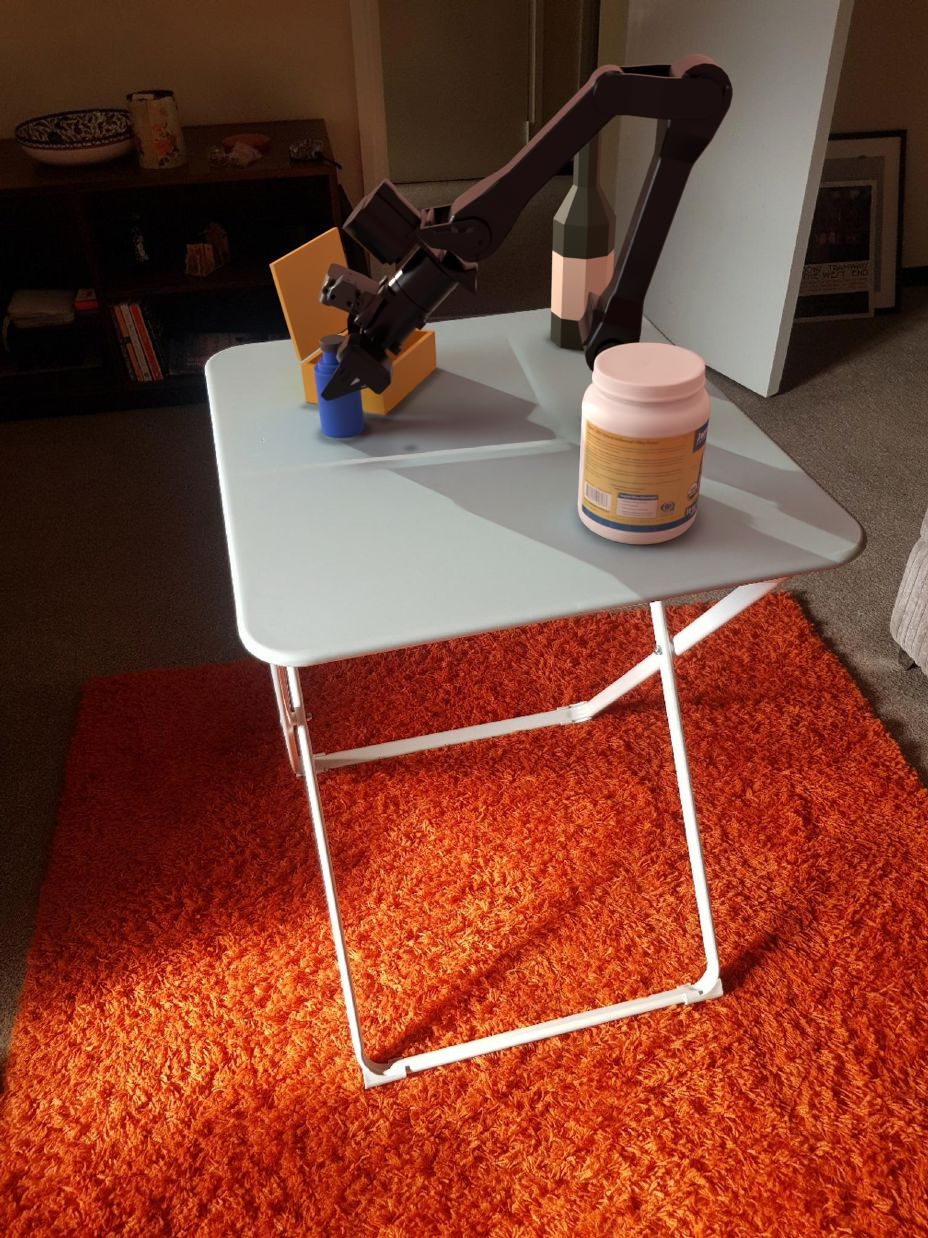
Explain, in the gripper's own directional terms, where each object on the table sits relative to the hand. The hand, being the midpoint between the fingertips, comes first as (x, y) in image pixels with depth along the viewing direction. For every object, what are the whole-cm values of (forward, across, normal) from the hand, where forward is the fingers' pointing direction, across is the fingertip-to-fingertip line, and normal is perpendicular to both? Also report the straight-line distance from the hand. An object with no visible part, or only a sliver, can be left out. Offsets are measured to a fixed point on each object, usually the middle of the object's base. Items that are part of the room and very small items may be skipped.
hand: (326, 387), depth 115 cm
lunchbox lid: (-3, -15, -6) cm, 16 cm away
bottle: (+3, 0, +5) cm, 6 cm away
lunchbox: (+2, -13, +7) cm, 14 cm away
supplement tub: (-20, +20, +29) cm, 40 cm away
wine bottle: (-18, -28, +27) cm, 43 cm away
